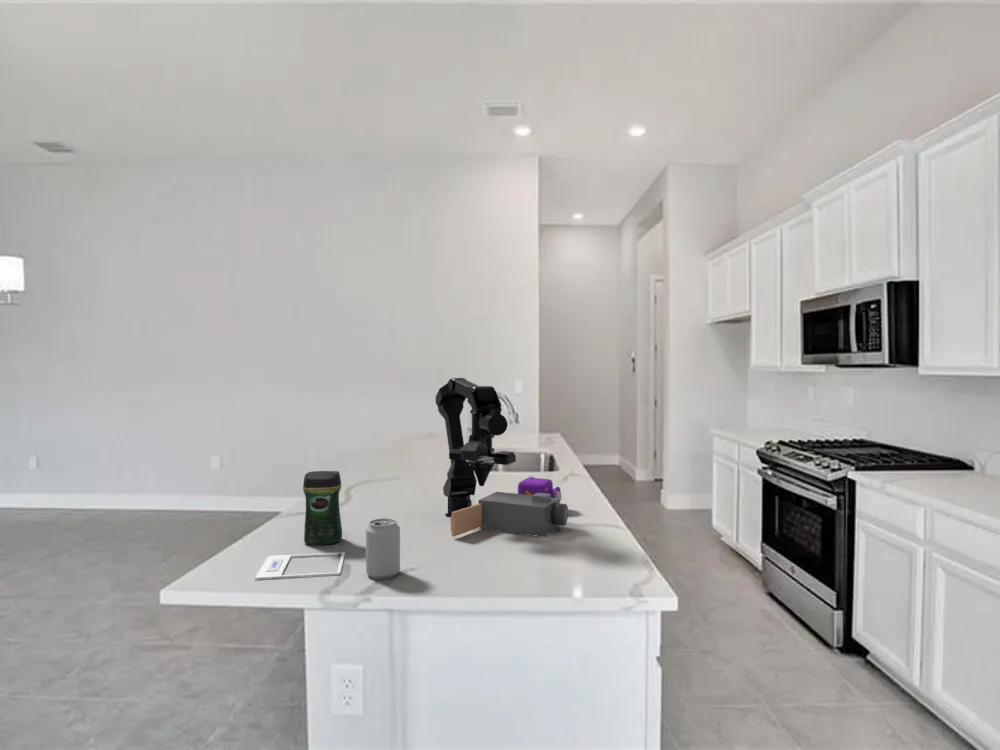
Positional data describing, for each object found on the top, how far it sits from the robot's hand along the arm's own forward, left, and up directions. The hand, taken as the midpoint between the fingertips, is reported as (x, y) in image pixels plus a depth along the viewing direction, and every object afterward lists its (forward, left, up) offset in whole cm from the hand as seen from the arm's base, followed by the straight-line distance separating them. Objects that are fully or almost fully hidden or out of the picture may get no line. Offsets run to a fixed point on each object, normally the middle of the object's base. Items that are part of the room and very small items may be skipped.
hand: (481, 485), depth 172 cm
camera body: (+10, +6, -12) cm, 17 cm away
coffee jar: (-32, -29, -13) cm, 45 cm away
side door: (-2, -6, -11) cm, 13 cm away
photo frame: (-23, -45, -13) cm, 53 cm away
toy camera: (+7, +27, -13) cm, 31 cm away
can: (-3, -42, -13) cm, 43 cm away
